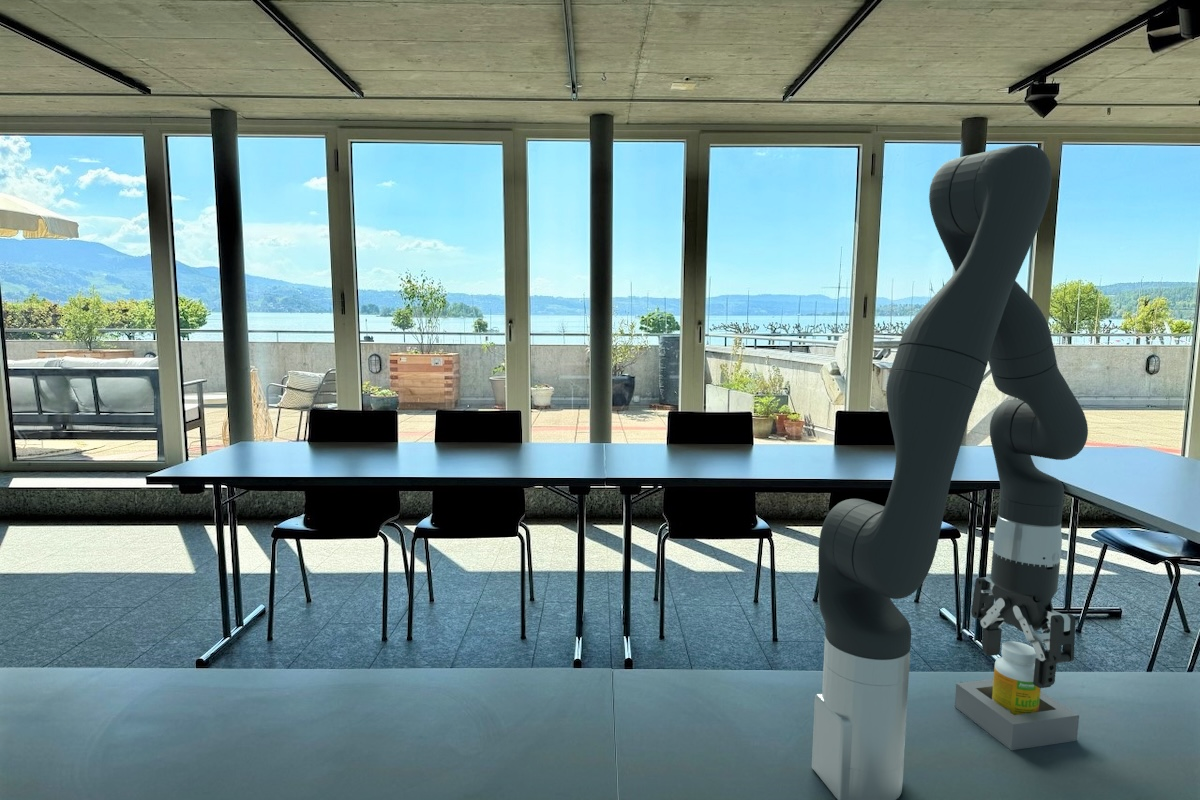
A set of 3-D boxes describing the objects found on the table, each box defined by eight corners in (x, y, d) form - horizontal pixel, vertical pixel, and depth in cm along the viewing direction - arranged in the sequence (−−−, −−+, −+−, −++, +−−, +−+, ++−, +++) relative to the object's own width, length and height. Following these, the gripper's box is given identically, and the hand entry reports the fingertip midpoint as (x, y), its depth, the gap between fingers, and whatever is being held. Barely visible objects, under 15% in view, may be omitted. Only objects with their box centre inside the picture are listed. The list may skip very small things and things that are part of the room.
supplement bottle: (1015, 731, 88) (1020, 660, 87) (981, 708, 93) (986, 641, 92) (1047, 724, 90) (1053, 654, 89) (1013, 702, 95) (1018, 636, 94)
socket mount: (1011, 750, 86) (1013, 724, 85) (954, 706, 96) (956, 683, 95) (1076, 740, 88) (1079, 715, 87) (1014, 698, 98) (1016, 675, 97)
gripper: (961, 537, 95) (953, 647, 97) (1048, 573, 81) (1036, 701, 83) (1007, 534, 97) (998, 643, 99) (1099, 570, 83) (1087, 695, 85)
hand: (1015, 669), depth 91 cm, fingers open, 8 cm apart
